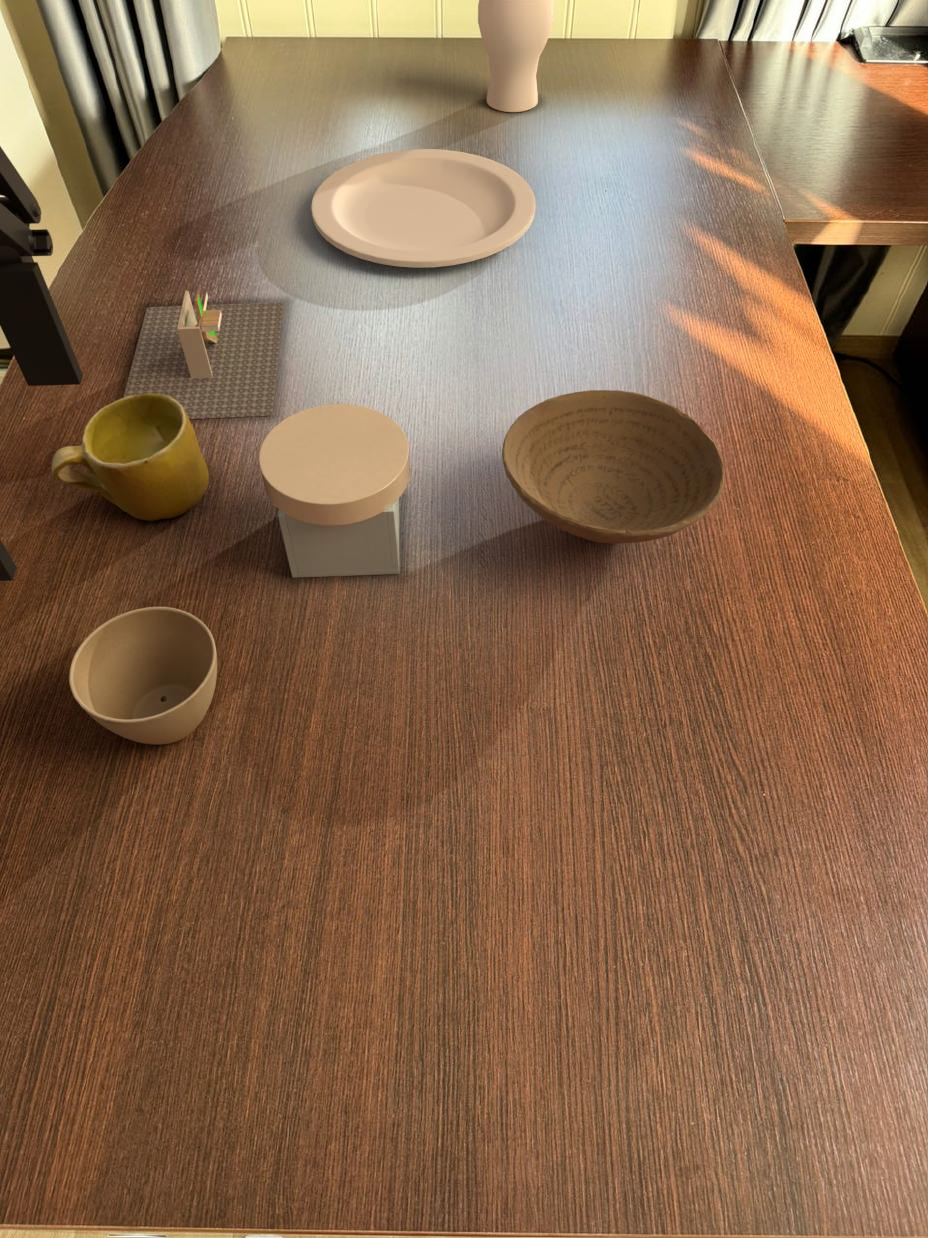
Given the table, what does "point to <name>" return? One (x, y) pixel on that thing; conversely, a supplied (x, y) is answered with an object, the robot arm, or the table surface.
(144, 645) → the flower pot
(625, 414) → the bowl
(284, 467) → the small plate
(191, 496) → the mug
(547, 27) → the cup
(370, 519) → the container
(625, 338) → the table surface
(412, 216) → the plate
